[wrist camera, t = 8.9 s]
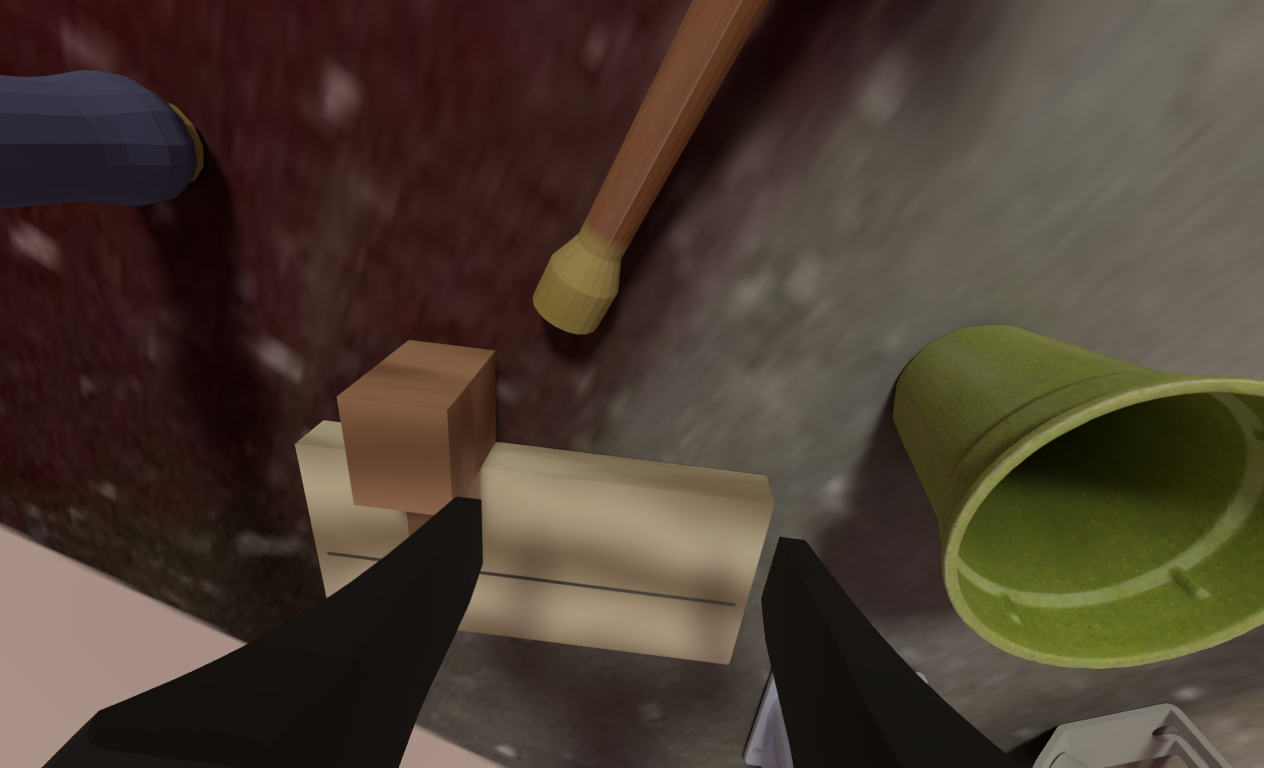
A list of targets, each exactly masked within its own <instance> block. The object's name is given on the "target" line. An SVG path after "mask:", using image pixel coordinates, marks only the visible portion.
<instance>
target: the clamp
mask: <svg viewBox="0 0 1264 768" xmlns="http://www.w3.org/2000/svg"><path fill="white" fill-rule="evenodd" d="M1168 725H1173V726H1175V727H1176V728H1177V729H1178V730H1179V731H1180V733H1181V734H1182V735H1183V736H1184V737H1185V738H1186V739H1187V741H1188V742H1189V743H1190V744H1191V745H1192V746H1193V748H1194V749H1195V750H1196V751H1197V752H1198V753H1199V755H1200V756H1201V757H1202V758H1203V759H1204V760H1205V761H1206V763H1207V764H1208V765H1209V766H1210V767H1211V768H1232V767H1231V766H1230V765H1229V764H1228V762H1227V761H1226V760H1225V759H1224V758H1223V757H1222V756H1221V755H1220V754H1219V752H1218V751H1217V750H1216V749H1215V748H1214V747H1213V746H1212V745H1211V744H1210V742H1209V741H1208V740H1207V739H1206V738H1205V737H1204V736H1203V735H1202V733H1201V732H1200V731H1199V730H1198V729H1197V728H1196V727H1195V726H1194V725H1193V723H1192V722H1191V721H1190V720H1189V719H1188V718H1187V717H1186V716H1185V715H1184V713H1183V712H1182V711H1181V710H1180V709H1179V708H1177V707H1176V706H1174V705H1171V704H1166V703H1164V704H1159V705H1154V706H1150V707H1145V708H1140V709H1135V710H1130V711H1125V712H1120V713H1116V714H1111V715H1106V716H1101V717H1096V718H1091V719H1087V720H1082V721H1077V722H1072V723H1067V724H1062V725H1060V726H1058V727H1057V729H1056V731H1055V732H1054V734H1053V735H1052V737H1051V738H1050V740H1049V741H1048V743H1047V744H1046V746H1045V747H1044V749H1043V750H1042V752H1041V753H1040V755H1039V756H1038V758H1037V760H1036V762H1035V764H1034V766H1033V768H1103V767H1108V766H1114V765H1119V764H1125V763H1130V762H1135V761H1141V760H1146V759H1152V758H1157V757H1162V756H1168V755H1173V754H1177V755H1179V756H1180V757H1181V758H1182V760H1183V761H1184V762H1185V763H1186V764H1187V766H1188V767H1189V768H1208V767H1207V766H1206V765H1205V764H1204V763H1203V761H1202V760H1201V759H1200V758H1199V757H1198V756H1197V754H1196V753H1195V752H1194V751H1193V750H1192V749H1191V747H1190V746H1189V745H1188V744H1187V743H1186V742H1185V740H1183V739H1182V738H1181V737H1179V736H1177V735H1174V734H1163V735H1158V736H1155V735H1152V733H1153V731H1154V730H1155V729H1157V728H1159V727H1162V726H1168Z"/></svg>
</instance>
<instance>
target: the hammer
mask: <svg viewBox="0 0 1264 768" xmlns="http://www.w3.org/2000/svg"><path fill="white" fill-rule="evenodd" d="M768 2H769V0H693V1H692V3H691V5H690V7H689V9H688V11H687V13H686V15H685V17H684V19H683V21H682V23H681V25H680V27H679V30H678V32H677V34H676V36H675V38H674V40H673V42H672V44H671V46H670V48H669V50H668V52H667V54H666V56H665V58H664V60H663V62H662V64H661V66H660V68H659V70H658V73H657V75H656V77H655V79H654V81H653V83H652V85H651V87H650V89H649V91H648V93H647V95H646V97H645V99H644V101H643V103H642V105H641V107H640V109H639V111H638V113H637V116H636V118H635V120H634V122H633V124H632V126H631V128H630V130H629V132H628V134H627V136H626V138H625V140H624V142H623V144H622V146H621V148H620V150H619V152H618V154H617V156H616V159H615V161H614V163H613V165H612V167H611V169H610V171H609V173H608V175H607V177H606V179H605V181H604V183H603V185H602V187H601V189H600V191H599V193H598V195H597V197H596V199H595V202H594V204H593V206H592V208H591V210H590V212H589V214H588V216H587V218H586V220H585V222H584V224H583V226H582V228H581V230H580V232H579V234H578V235H577V236H575V237H574V238H573V239H572V240H570V241H569V242H568V243H567V244H565V245H564V246H563V247H561V248H560V249H559V250H558V251H556V252H555V253H554V254H553V255H552V256H551V259H550V261H549V263H548V265H547V267H546V269H545V271H544V273H543V276H542V278H541V280H540V282H539V284H538V286H537V288H536V291H535V293H534V296H533V302H534V306H535V307H536V309H537V311H538V312H539V314H540V315H541V316H542V317H543V318H545V319H546V320H547V321H548V322H549V323H551V324H552V325H554V326H555V327H557V328H559V329H562V330H564V331H566V332H570V333H574V334H589V333H591V332H594V330H595V329H596V328H597V327H598V325H599V323H600V322H601V320H602V318H603V317H604V315H605V313H606V312H607V310H608V308H609V307H610V305H611V303H612V302H613V300H614V298H615V296H616V295H617V293H618V287H619V276H620V266H621V258H622V256H623V254H624V253H625V251H626V249H627V247H628V246H629V244H630V242H631V240H632V239H633V237H634V235H635V234H636V232H637V230H638V228H639V227H640V225H641V223H642V221H643V220H644V218H645V216H646V214H647V213H648V211H649V209H650V207H651V206H652V204H653V202H654V200H655V199H656V197H657V195H658V193H659V192H660V190H661V188H662V186H663V185H664V183H665V181H666V179H667V178H668V176H669V174H670V172H671V171H672V169H673V167H674V166H675V164H676V162H677V160H678V159H679V157H680V155H681V153H682V152H683V150H684V148H685V146H686V145H687V143H688V141H689V139H690V138H691V136H692V134H693V132H694V131H695V129H696V127H697V125H698V124H699V122H700V120H701V118H702V117H703V115H704V113H705V111H706V110H707V108H708V106H709V104H710V103H711V101H712V99H713V97H714V96H715V94H716V92H717V91H718V89H719V87H720V85H721V84H722V82H723V80H724V78H725V77H726V75H727V73H728V71H729V70H730V68H731V66H732V64H733V63H734V61H735V59H736V57H737V56H738V54H739V52H740V50H741V49H742V47H743V45H744V43H745V42H746V40H747V38H748V36H749V35H750V33H751V31H752V29H753V28H754V26H755V24H756V23H757V21H758V19H759V17H760V16H761V14H762V12H763V10H764V9H765V7H766V5H767V3H768Z"/></svg>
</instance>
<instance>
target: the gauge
mask: <svg viewBox="0 0 1264 768" xmlns="http://www.w3.org/2000/svg"><path fill="white" fill-rule="evenodd" d="M337 401H338V408H339V414H340V420H341V426H342V433H343V439H344V445H345V452H346V458H347V464H348V471H349V477H350V483H351V490H352V496H353V502H354V505H358V506H366V507H373V508H381V509H389V510H397V511H405V512H407V521H408V530H409V536H410V535H412V534H413V533H414V532H415V531H416V530H417V529H419V528H420V527H421V526H422V525H423V524H424V523H426V522H427V521H428V520H429V519H430V518H431V517H433V516H434V515H435V514H436V513H437V512H438V511H439V510H441V509H442V508H443V507H444V506H445V505H446V504H448V503H449V502H450V501H451V500H452V499H454V498H455V497H456V496H458V497H465V495H466V494H467V492H468V490H469V488H470V486H471V485H472V483H473V481H474V479H475V478H476V476H477V474H478V472H479V471H480V469H481V467H482V465H483V463H484V462H485V460H486V458H487V456H488V455H489V453H490V451H491V449H492V447H493V446H494V444H495V442H496V375H495V351H493V350H485V349H477V348H469V347H461V346H453V345H445V344H437V343H428V342H420V341H412V340H408V341H407V342H406V343H405V344H403V345H402V346H401V347H400V348H398V349H397V350H396V351H394V352H393V353H392V354H391V355H389V356H388V357H387V358H386V359H384V360H383V361H382V362H380V363H379V364H378V365H377V366H375V367H374V368H373V369H372V370H370V371H369V372H368V373H366V374H365V375H364V376H363V377H361V378H360V379H359V380H358V381H356V382H355V383H354V384H352V385H351V386H350V387H349V388H347V389H346V390H345V391H344V392H342V393H341V394H340V395H338V396H337Z"/></svg>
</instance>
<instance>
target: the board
mask: <svg viewBox="0 0 1264 768" xmlns="http://www.w3.org/2000/svg"><path fill="white" fill-rule="evenodd" d="M295 447H296V452H297V456H298V461H299V466H300V471H301V476H302V481H303V485H304V490H305V495H306V500H307V505H308V510H309V514H310V519H311V524H312V529H313V534H314V539H315V543H316V548H317V553H318V558H319V563H320V568H321V572H322V577H323V582H324V587H325V592H326V597H327V598H328V597H329V596H331V595H332V594H334V593H335V592H337V591H338V590H339V589H341V588H342V587H344V586H345V585H347V584H348V583H350V582H351V581H352V580H354V579H355V578H356V577H358V576H359V575H360V574H362V573H363V572H364V571H366V570H367V569H368V568H370V567H371V566H373V565H374V564H375V563H377V562H378V561H379V560H381V559H382V558H383V557H384V556H386V555H387V554H388V553H390V552H391V551H392V550H393V549H394V548H396V547H397V546H398V545H399V544H401V543H402V542H403V541H404V540H405V539H407V538H408V537H409V530H408V521H407V512H405V511H397V510H389V509H381V508H373V507H366V506H358V505H354V502H353V496H352V490H351V483H350V477H349V471H348V464H347V458H346V452H345V445H344V439H343V433H342V426H341V422H333V421H325V420H324V421H322V422H321V423H320V424H319V425H318V426H316V427H315V428H314V429H313V430H311V431H310V432H309V433H308V434H307V435H305V436H304V437H303V438H302V439H301V440H299V441H298V442H297V443H296V444H295ZM465 497H466V498H474V499H482V540H483V565H482V568H481V571H480V574H479V577H478V580H477V583H476V586H475V589H474V592H473V595H472V598H471V601H470V604H469V606H468V608H467V610H466V612H465V615H464V617H463V619H462V621H461V623H460V625H459V627H458V630H461V631H469V632H477V633H485V634H493V635H500V636H508V637H516V638H524V639H532V640H540V641H547V642H555V643H563V644H571V645H579V646H586V647H594V648H602V649H610V650H618V651H625V652H633V653H641V654H649V655H657V656H665V657H672V658H680V659H688V660H696V661H704V662H711V663H719V664H727V665H729V663H730V660H731V656H732V653H733V649H734V646H735V642H736V639H737V635H738V632H739V628H740V625H741V621H742V618H743V614H744V610H745V607H746V603H747V600H748V596H749V593H750V589H751V586H752V582H753V579H754V575H755V572H756V568H757V565H758V561H759V558H760V554H761V551H762V547H763V543H764V540H765V536H766V533H767V529H768V526H769V522H770V519H771V515H772V512H773V508H774V505H775V503H774V500H773V497H772V493H771V490H770V486H769V483H768V480H767V476H766V475H758V474H750V473H742V472H734V471H726V470H718V469H710V468H702V467H694V466H686V465H678V464H670V463H662V462H654V461H646V460H638V459H630V458H622V457H614V456H606V455H598V454H590V453H582V452H574V451H566V450H557V449H549V448H541V447H533V446H525V445H517V444H509V443H501V442H495V444H494V446H493V447H492V449H491V451H490V453H489V455H488V456H487V458H486V460H485V462H484V463H483V465H482V467H481V469H480V471H479V472H478V474H477V476H476V478H475V479H474V481H473V483H472V485H471V486H470V488H469V490H468V492H467V494H466V495H465Z"/></svg>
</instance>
